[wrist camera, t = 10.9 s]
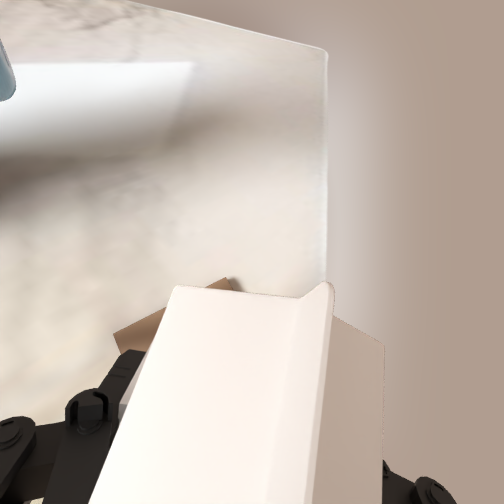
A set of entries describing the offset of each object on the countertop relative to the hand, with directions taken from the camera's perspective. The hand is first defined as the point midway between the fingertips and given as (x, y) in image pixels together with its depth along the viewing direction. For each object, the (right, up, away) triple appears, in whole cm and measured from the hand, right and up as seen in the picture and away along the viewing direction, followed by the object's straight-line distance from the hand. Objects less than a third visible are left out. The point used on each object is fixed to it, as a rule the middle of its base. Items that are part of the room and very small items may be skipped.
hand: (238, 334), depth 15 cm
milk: (-2, -7, +8) cm, 11 cm away
